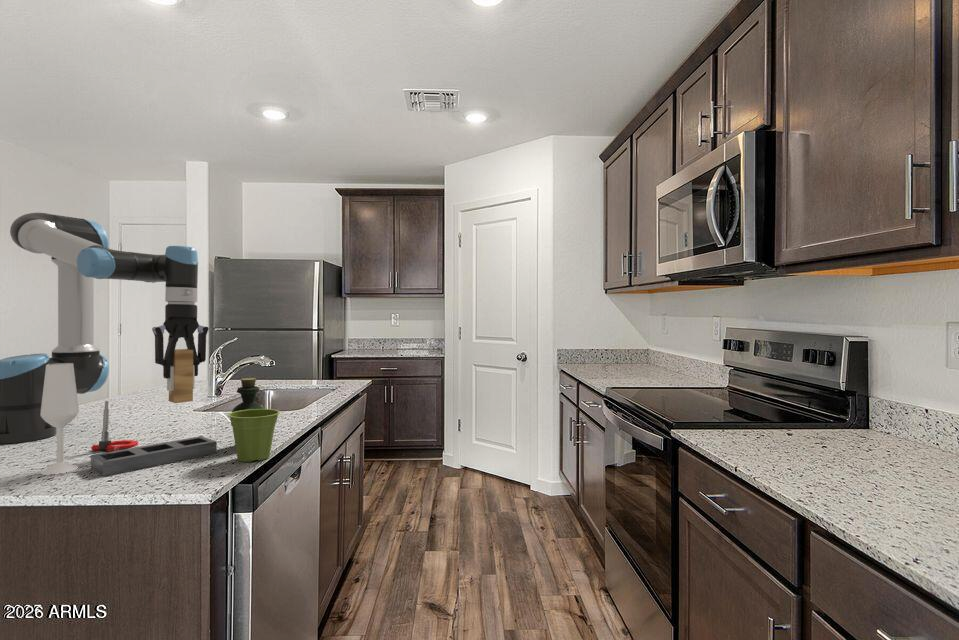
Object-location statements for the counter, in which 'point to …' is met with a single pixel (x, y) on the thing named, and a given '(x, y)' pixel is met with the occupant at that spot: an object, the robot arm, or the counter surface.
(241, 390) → the potion bottle
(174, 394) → the ochre peg
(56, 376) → the champagne flute
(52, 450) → the counter surface
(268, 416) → the plant pot
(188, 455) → the grey slotted tray
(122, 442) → the tow hook
